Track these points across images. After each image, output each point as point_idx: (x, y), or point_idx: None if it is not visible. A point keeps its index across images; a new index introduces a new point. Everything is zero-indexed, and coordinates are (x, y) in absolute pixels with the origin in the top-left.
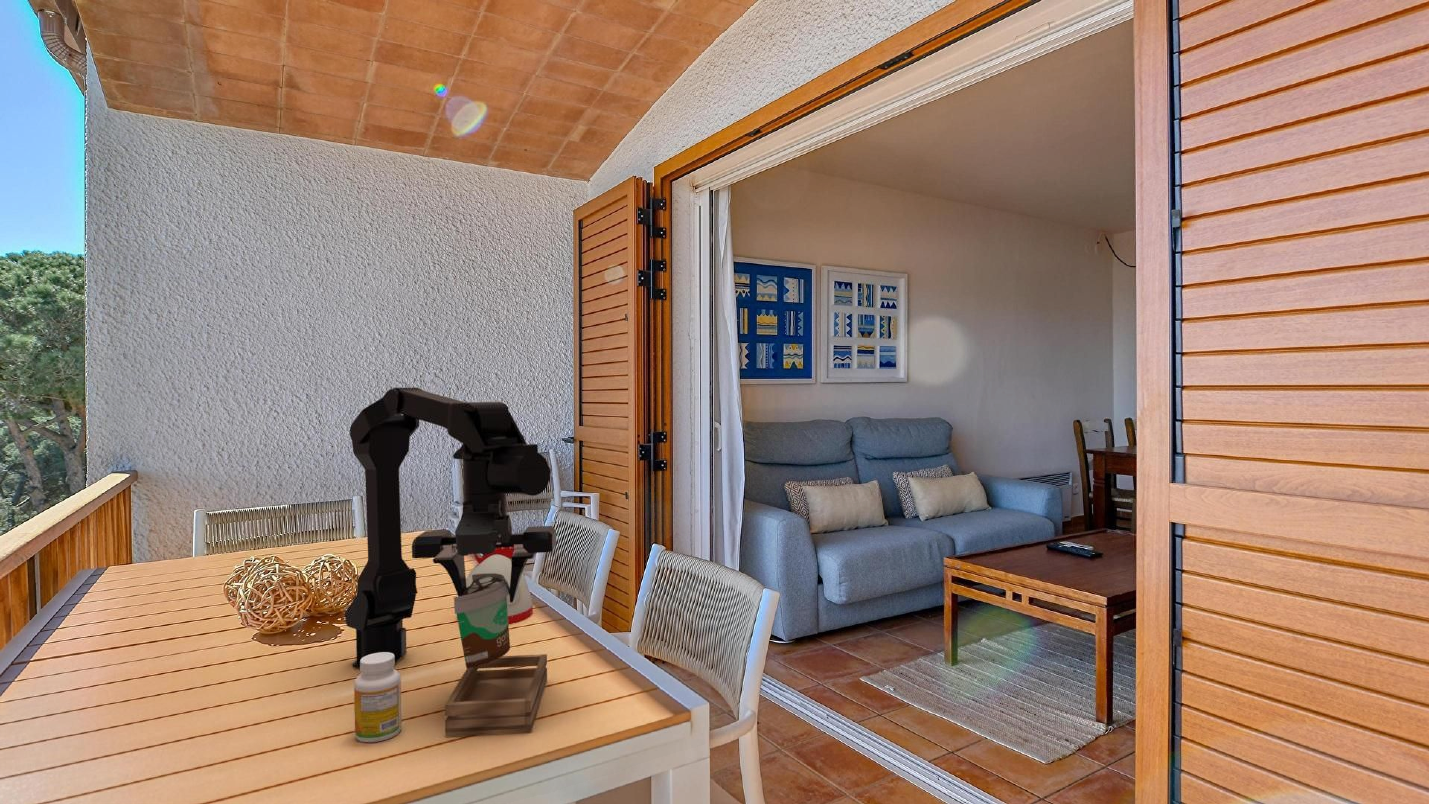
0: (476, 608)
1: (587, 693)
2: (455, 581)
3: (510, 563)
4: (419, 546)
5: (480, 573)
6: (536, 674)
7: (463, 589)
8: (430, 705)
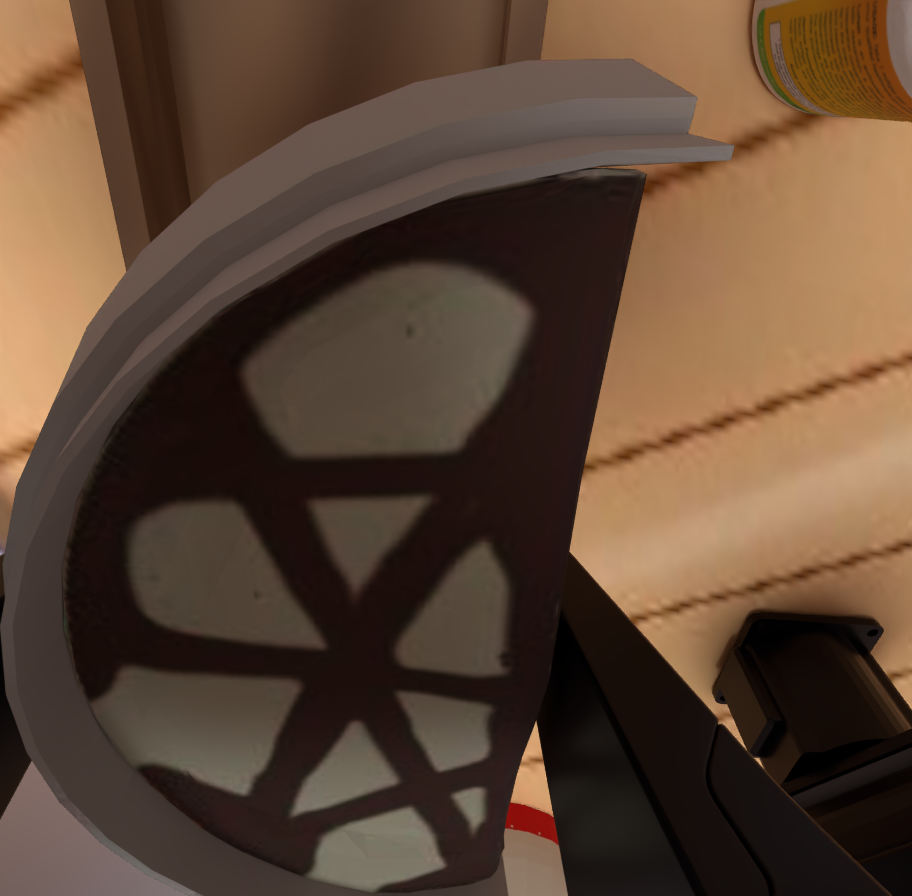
0: (322, 119)
1: (7, 270)
2: (699, 742)
3: None
4: None
5: None
6: (136, 234)
7: (565, 660)
8: (628, 277)
